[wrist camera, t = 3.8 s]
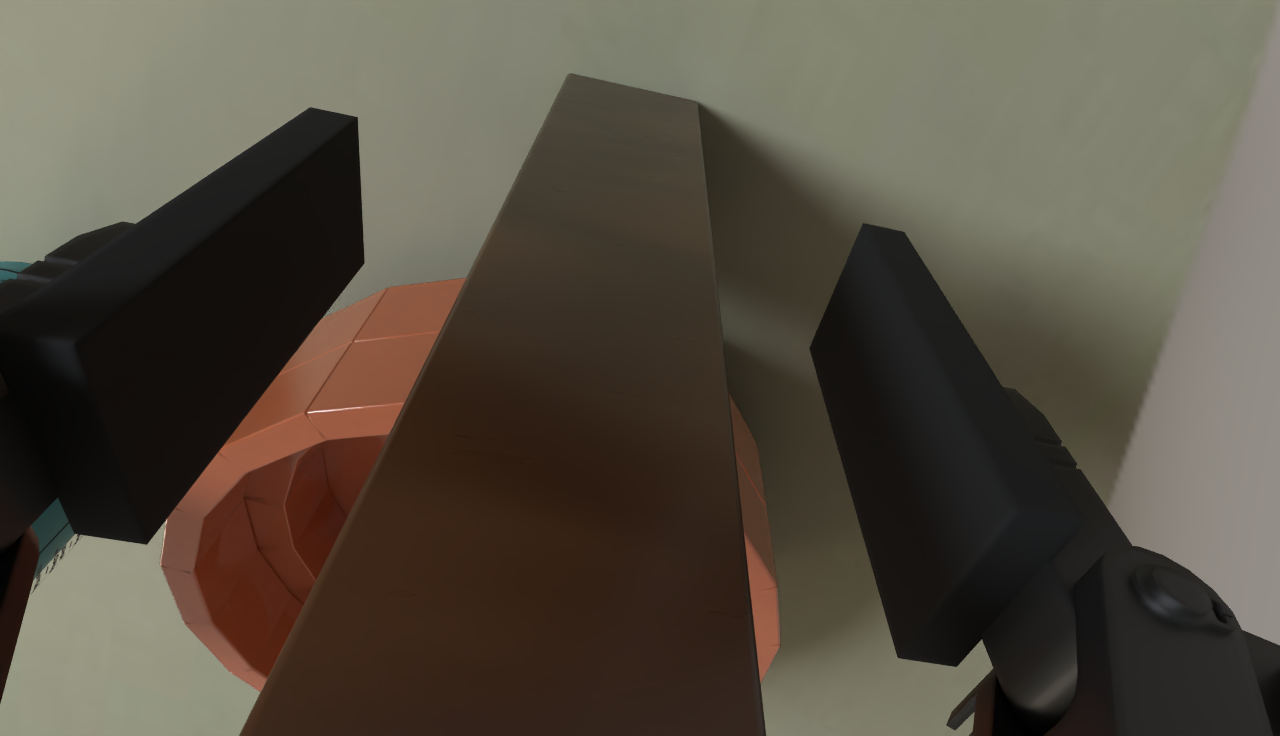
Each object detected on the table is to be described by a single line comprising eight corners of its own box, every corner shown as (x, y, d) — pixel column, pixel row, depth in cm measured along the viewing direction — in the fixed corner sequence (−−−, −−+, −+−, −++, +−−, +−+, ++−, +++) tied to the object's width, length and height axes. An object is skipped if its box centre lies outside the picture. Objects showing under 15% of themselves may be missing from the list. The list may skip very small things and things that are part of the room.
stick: (550, 197, 17) (165, 1262, 4) (567, 71, 15) (-31, 1253, 2) (668, 221, 17) (660, 1293, 4) (698, 100, 15) (837, 1306, 3)
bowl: (618, 162, 16) (594, 287, 11) (820, 547, 24) (856, 715, 20) (168, 380, 21) (16, 535, 16) (464, 643, 29) (422, 799, 24)
